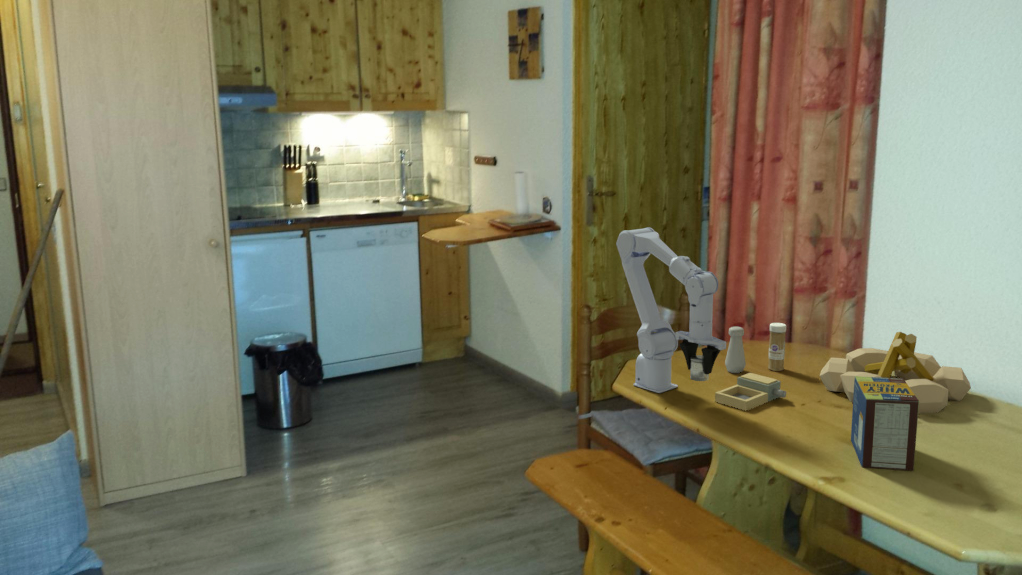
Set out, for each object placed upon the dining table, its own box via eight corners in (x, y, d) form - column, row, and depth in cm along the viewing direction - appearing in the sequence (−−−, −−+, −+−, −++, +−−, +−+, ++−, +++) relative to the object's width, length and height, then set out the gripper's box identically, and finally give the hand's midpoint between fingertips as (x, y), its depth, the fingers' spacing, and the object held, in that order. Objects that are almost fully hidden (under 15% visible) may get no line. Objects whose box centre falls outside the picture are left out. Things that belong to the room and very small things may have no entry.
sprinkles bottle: (767, 370, 246) (769, 325, 243) (768, 366, 250) (770, 321, 247) (783, 372, 244) (786, 326, 241) (784, 367, 248) (786, 322, 246)
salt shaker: (745, 374, 243) (747, 330, 240) (725, 373, 244) (726, 329, 241) (744, 368, 248) (746, 325, 246) (724, 367, 249) (725, 324, 247)
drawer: (714, 401, 221) (715, 384, 220) (748, 388, 231) (749, 371, 230) (756, 414, 212) (757, 395, 211) (789, 400, 221) (790, 382, 220)
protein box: (898, 443, 193) (904, 377, 189) (914, 471, 178) (920, 401, 175) (849, 440, 195) (853, 375, 192) (860, 467, 180) (865, 398, 177)
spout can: (686, 378, 220) (686, 354, 219) (697, 374, 223) (698, 350, 222) (701, 382, 217) (701, 357, 215) (712, 378, 220) (713, 354, 218)
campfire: (928, 426, 202) (934, 357, 199) (798, 393, 227) (802, 331, 224) (986, 392, 225) (992, 329, 221) (862, 365, 250) (866, 308, 246)
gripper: (668, 317, 220) (667, 368, 223) (714, 328, 209) (713, 381, 212) (685, 313, 224) (684, 362, 227) (732, 322, 213) (730, 374, 216)
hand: (699, 371), depth 220 cm, fingers closed on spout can, 5 cm apart
